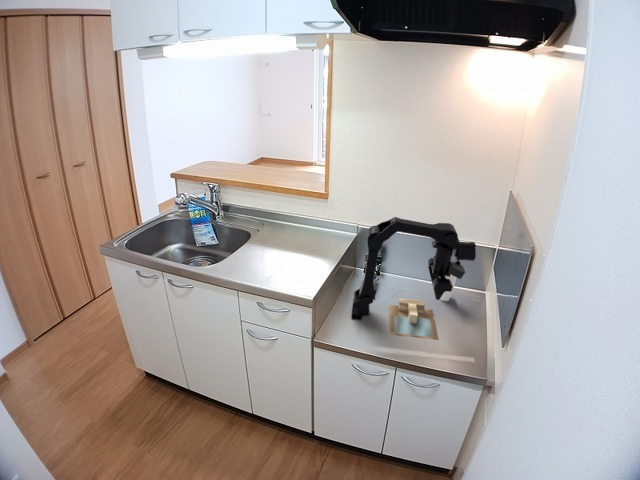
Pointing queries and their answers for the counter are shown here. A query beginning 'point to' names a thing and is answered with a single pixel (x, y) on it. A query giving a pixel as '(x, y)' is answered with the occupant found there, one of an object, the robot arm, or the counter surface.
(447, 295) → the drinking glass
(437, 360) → the counter surface
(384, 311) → the counter surface
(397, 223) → the robot arm
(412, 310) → the t block
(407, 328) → the push board
